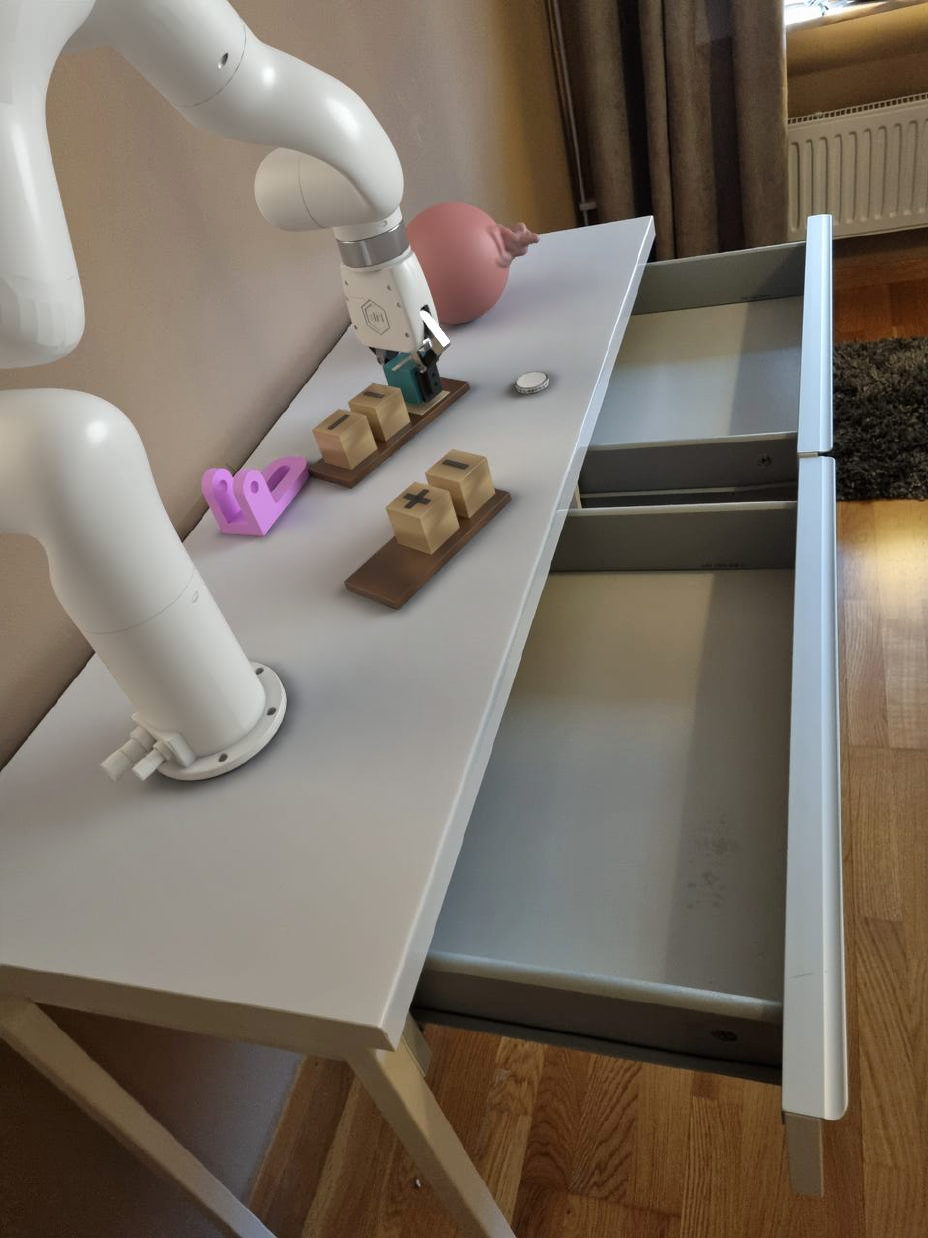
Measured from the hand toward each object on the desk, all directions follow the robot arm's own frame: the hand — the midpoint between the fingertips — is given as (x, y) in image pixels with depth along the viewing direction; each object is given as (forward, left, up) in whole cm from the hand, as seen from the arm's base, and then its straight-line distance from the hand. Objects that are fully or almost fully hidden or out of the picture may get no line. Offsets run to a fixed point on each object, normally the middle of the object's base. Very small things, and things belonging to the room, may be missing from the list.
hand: (417, 391), depth 108 cm
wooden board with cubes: (-21, -19, -2) cm, 28 cm away
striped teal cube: (0, 0, 0) cm, 0 cm away
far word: (-6, 0, -2) cm, 6 cm away
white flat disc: (+8, -11, -2) cm, 14 cm away
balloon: (+22, +8, -2) cm, 24 cm away
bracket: (-22, +5, -2) cm, 22 cm away
